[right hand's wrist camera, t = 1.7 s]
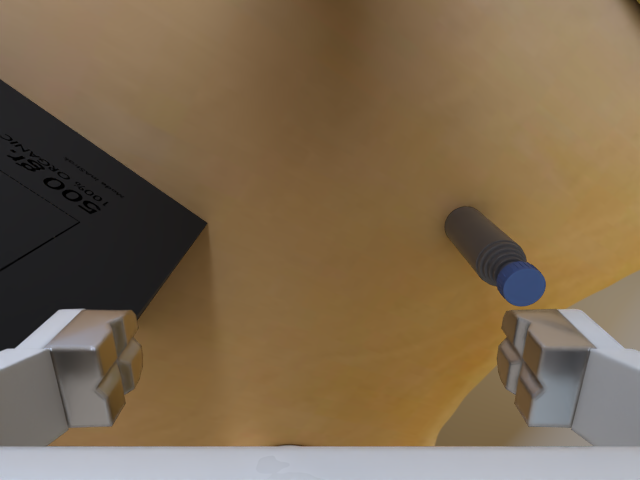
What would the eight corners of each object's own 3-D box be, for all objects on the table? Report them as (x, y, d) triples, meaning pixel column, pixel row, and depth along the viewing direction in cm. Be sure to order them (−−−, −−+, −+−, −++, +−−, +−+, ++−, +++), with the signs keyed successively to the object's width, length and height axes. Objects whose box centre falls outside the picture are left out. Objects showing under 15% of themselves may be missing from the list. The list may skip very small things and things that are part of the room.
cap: (532, 254, 43) (541, 262, 41) (541, 290, 44) (550, 299, 42) (491, 268, 43) (498, 276, 42) (500, 303, 45) (508, 312, 43)
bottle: (478, 201, 58) (544, 253, 41) (487, 235, 60) (555, 300, 43) (440, 214, 59) (489, 271, 42) (450, 248, 61) (501, 316, 43)
